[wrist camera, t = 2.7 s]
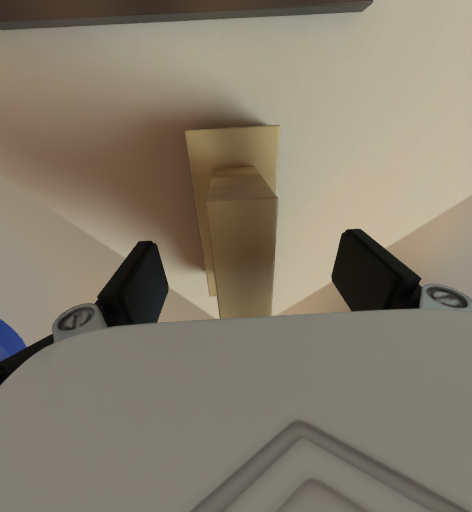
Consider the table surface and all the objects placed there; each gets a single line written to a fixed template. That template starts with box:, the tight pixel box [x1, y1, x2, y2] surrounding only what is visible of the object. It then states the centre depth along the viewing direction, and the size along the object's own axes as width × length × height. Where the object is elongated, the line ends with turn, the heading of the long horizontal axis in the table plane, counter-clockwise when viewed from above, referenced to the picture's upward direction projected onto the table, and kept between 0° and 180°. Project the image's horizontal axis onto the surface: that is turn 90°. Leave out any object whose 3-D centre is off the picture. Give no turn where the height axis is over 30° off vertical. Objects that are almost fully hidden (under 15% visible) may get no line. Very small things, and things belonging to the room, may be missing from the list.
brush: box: [185, 125, 280, 319], centre depth 13 cm, size 5×12×10 cm, turn 3°
